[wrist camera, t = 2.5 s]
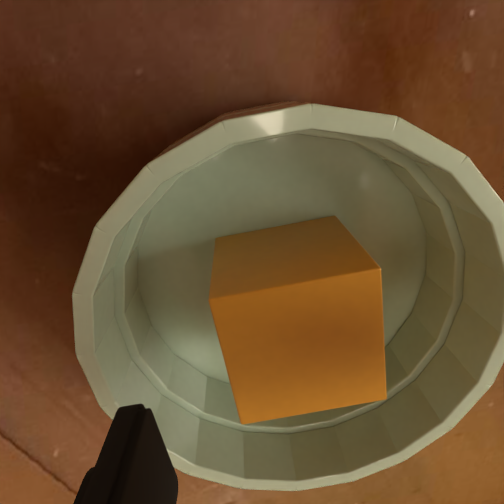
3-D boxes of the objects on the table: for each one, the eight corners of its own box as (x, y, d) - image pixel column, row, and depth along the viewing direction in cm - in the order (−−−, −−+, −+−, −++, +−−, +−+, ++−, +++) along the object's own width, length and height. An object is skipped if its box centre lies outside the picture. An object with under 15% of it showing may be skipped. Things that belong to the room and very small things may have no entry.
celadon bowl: (169, 417, 19) (149, 517, 15) (68, 142, 14) (-14, 166, 9) (436, 369, 19) (502, 457, 14) (445, 69, 13) (556, 55, 9)
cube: (238, 336, 17) (240, 425, 12) (215, 237, 15) (207, 299, 10) (345, 317, 17) (387, 400, 12) (335, 214, 15) (382, 268, 10)
